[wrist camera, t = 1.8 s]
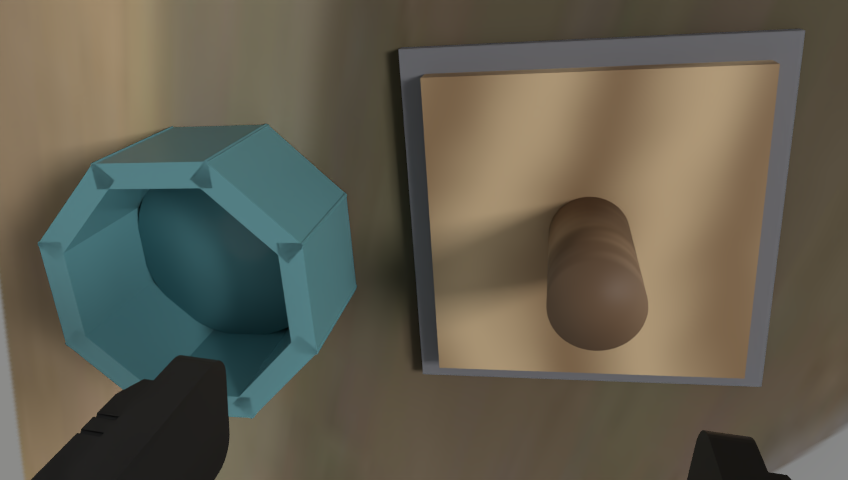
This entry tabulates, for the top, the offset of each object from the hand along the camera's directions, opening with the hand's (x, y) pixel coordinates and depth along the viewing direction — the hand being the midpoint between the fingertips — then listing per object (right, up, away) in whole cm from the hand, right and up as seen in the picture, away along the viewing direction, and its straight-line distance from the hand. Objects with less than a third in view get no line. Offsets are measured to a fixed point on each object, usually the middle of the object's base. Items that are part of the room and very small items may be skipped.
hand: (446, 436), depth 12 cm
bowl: (-9, +3, +22) cm, 24 cm away
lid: (+6, +4, +18) cm, 19 cm away
